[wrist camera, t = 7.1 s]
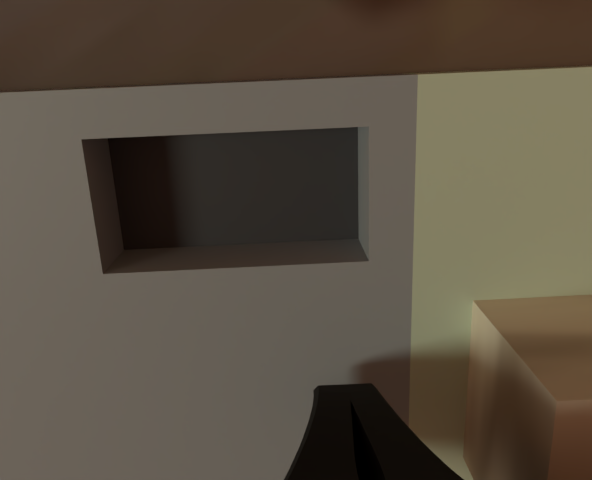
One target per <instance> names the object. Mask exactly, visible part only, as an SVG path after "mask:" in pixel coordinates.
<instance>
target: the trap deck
mask: <svg viewBox="0 0 592 480" xmlns="http://www.w3.org/2000/svg"><path fill="white" fill-rule="evenodd" d="M574 295H592V65H590V66H567V67H544V68H521V69H498V70H475V71H452V72H429V73H406V74H383V75H360V76H337V77H314V78H291V79H268V80H245V81H222V82H199V83H176V84H153V85H130V86H107V87H84V88H61V89H38V90H15V91H0V480H284V478H285V476H286V474H287V473H288V471H289V469H290V466H291V464H292V462H293V460H294V458H295V455H296V453H297V451H298V449H299V446H300V444H301V441H302V439H303V436H304V433H305V430H306V427H307V424H308V421H309V418H310V414H311V410H312V406H313V398H314V394H313V390H314V389H315V388H316V387H317V386H318V385H341V384H365V383H372V384H373V385H374V386H375V387H376V388H377V389H378V391H379V392H380V393H381V395H382V396H383V397H384V399H385V400H386V401H387V402H388V404H389V405H390V406H391V407H392V408H393V410H394V411H395V412H396V413H397V414H398V416H399V417H400V418H401V419H402V420H403V421H404V422H405V424H406V425H407V426H408V427H409V428H410V429H411V430H412V431H413V432H414V433H415V434H416V435H417V436H418V438H419V439H420V440H421V441H422V442H423V443H424V444H425V445H426V446H427V447H428V448H429V449H430V450H431V451H432V452H433V453H434V454H435V455H436V456H438V457H439V458H440V459H441V460H442V461H443V462H444V463H445V464H446V465H447V466H448V467H449V468H451V469H452V470H453V471H454V472H455V473H456V474H458V475H459V476H460V477H461V478H463V479H464V480H473V478H472V475H471V473H470V471H469V469H468V467H467V465H466V463H465V461H464V458H463V448H464V433H465V417H466V401H467V385H468V369H469V353H470V337H471V322H472V306H473V300H493V299H513V298H533V297H554V296H574Z"/></svg>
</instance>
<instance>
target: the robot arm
mask: <svg viewBox="0 0 592 480" xmlns="http://www.w3.org/2000/svg"><path fill="white" fill-rule="evenodd" d="M313 394H314V398H313V406H312V410H311V414H310V418H309V421H308V424H307V427H306V430H305V433H304V436H303V439H302V441H301V444H300V446H299V449H298V451H297V453H296V455H295V458H294V460H293V462H292V464H291V466H290V469H289V471H288V473H287V474H286V476H285V478H284V480H464V479H463V478H461V477H460V476H459V475H458V474H456V473H455V472H454V471H453V470H452V469H451V468H449V467H448V466H447V465H446V464H445V463H444V462H443V461H442V460H441V459H440V458H439V457H438V456H436V455H435V454H434V453H433V452H432V451H431V450H430V449H429V448H428V447H427V446H426V445H425V444H424V443H423V442H422V441H421V440H420V439H419V438H418V436H417V435H416V434H415V433H414V432H413V431H412V430H411V429H410V428H409V427H408V426H407V425H406V424H405V422H404V421H403V420H402V419H401V418H400V417H399V416H398V414H397V413H396V412H395V411H394V410H393V408H392V407H391V406H390V405H389V404H388V402H387V401H386V400H385V399H384V397H383V396H382V395H381V393H380V392H379V391H378V389H377V388H376V387H375V386H374V385H373V384H372V383H365V384H341V385H318V386H317V387H316V388H315V389H314V390H313Z"/></svg>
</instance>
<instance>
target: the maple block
mask: <svg viewBox="0 0 592 480" xmlns="http://www.w3.org/2000/svg"><path fill="white" fill-rule="evenodd" d="M463 458H464V461H465V463H466V465H467V467H468V469H469V471H470V473H471V475H472V478H473V480H592V295H574V296H554V297H533V298H513V299H493V300H473V306H472V322H471V337H470V353H469V369H468V385H467V401H466V417H465V433H464V448H463Z"/></svg>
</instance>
